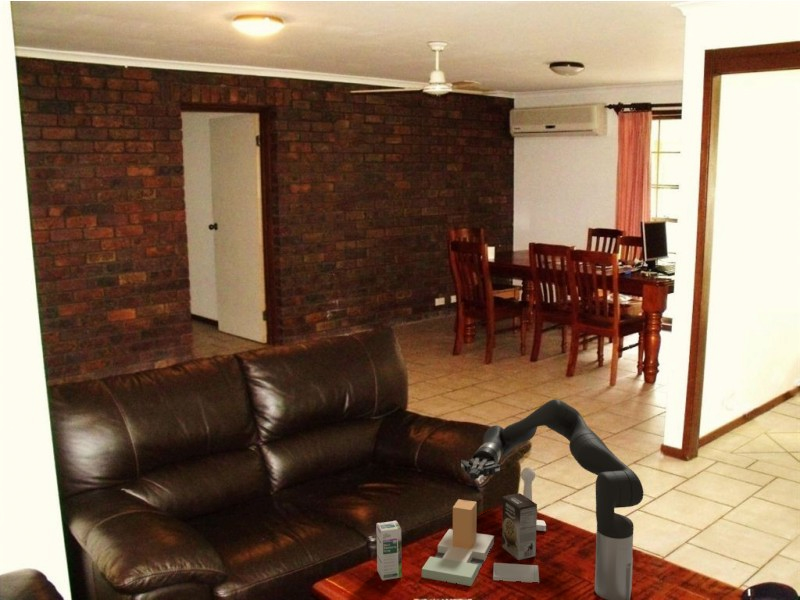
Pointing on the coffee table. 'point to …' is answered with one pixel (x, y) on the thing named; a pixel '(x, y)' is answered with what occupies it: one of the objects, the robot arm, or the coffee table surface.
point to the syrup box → (389, 550)
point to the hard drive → (515, 572)
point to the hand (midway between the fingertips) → (472, 476)
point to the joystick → (528, 477)
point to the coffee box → (519, 526)
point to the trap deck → (458, 560)
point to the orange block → (464, 523)
